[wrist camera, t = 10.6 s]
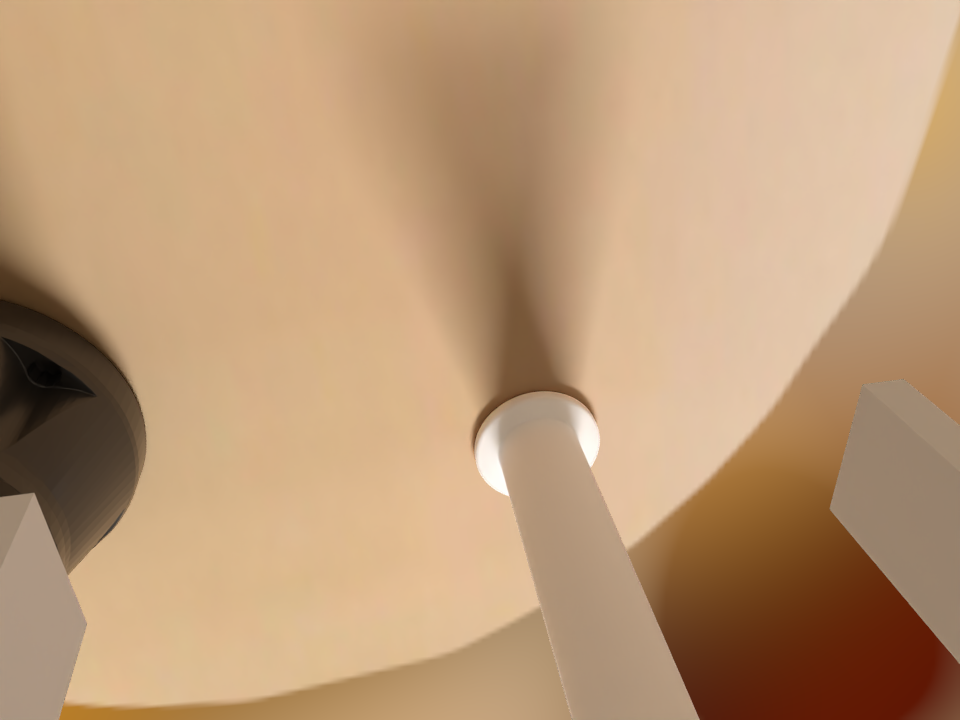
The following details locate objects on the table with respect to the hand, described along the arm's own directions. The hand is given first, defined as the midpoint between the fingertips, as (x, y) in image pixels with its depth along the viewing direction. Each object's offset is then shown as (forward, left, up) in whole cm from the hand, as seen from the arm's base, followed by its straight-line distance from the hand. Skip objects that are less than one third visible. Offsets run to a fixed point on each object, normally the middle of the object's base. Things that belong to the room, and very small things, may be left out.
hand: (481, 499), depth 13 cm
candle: (+8, -18, -26) cm, 32 cm away
